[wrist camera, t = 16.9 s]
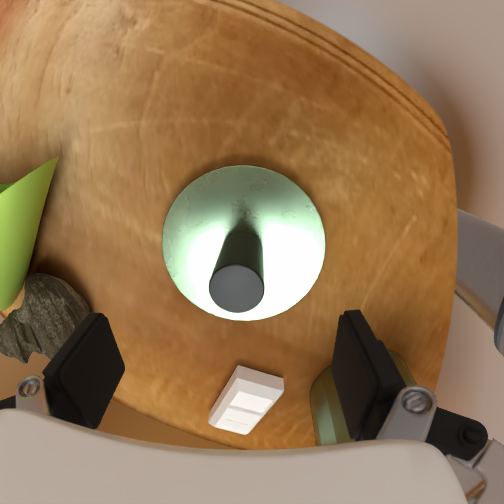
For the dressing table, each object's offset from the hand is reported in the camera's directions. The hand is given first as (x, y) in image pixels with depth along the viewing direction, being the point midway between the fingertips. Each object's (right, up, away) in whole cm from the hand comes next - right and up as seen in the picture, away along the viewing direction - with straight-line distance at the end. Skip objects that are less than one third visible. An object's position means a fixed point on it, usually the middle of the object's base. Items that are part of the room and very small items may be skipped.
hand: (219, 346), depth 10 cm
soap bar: (0, -12, +18) cm, 21 cm away
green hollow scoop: (-24, +6, +11) cm, 27 cm away
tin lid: (+1, +4, +11) cm, 11 cm away
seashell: (-17, -3, +15) cm, 23 cm away
